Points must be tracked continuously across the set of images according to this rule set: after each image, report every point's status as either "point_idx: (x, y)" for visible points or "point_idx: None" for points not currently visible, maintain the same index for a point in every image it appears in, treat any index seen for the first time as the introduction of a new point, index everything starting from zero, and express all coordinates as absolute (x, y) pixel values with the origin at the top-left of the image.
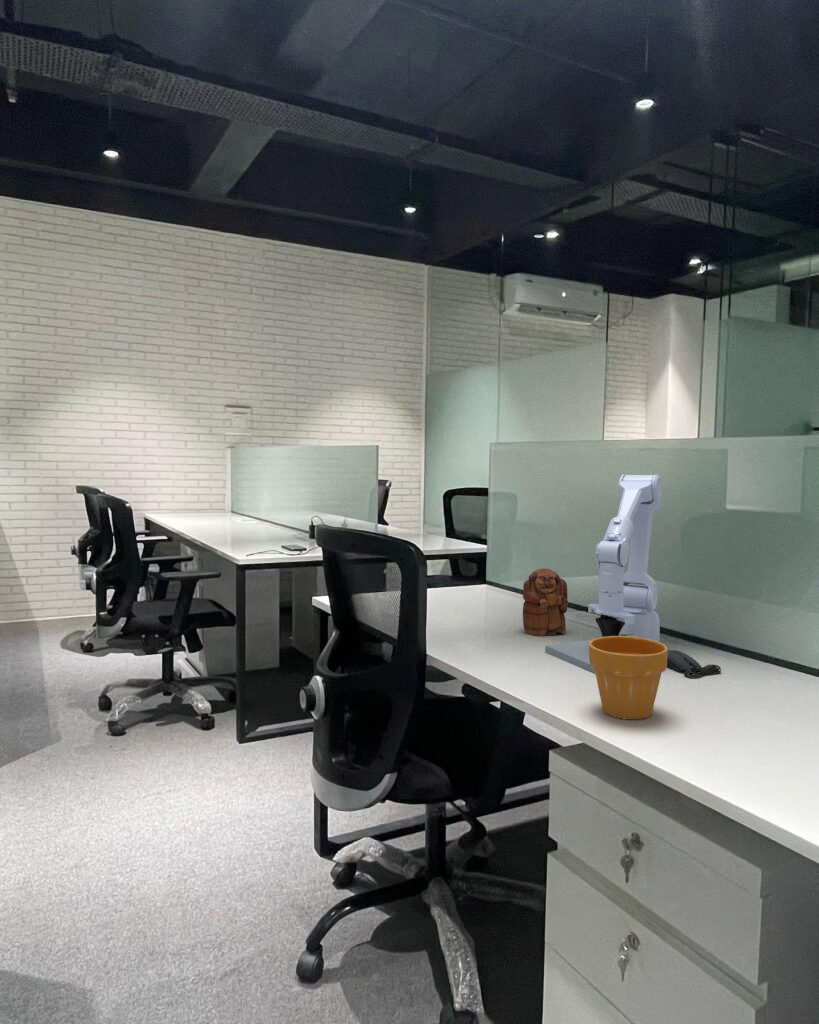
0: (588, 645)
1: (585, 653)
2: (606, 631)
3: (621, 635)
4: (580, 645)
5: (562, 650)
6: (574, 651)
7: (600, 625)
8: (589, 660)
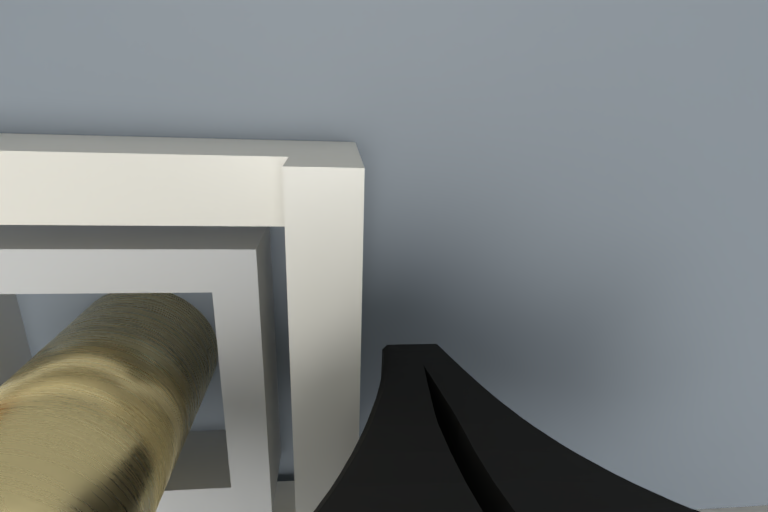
0: (703, 352)
1: (535, 164)
2: (400, 459)
3: (7, 509)
4: (749, 295)
5: (751, 13)
6: (650, 111)
7: (572, 498)
8: (305, 19)
